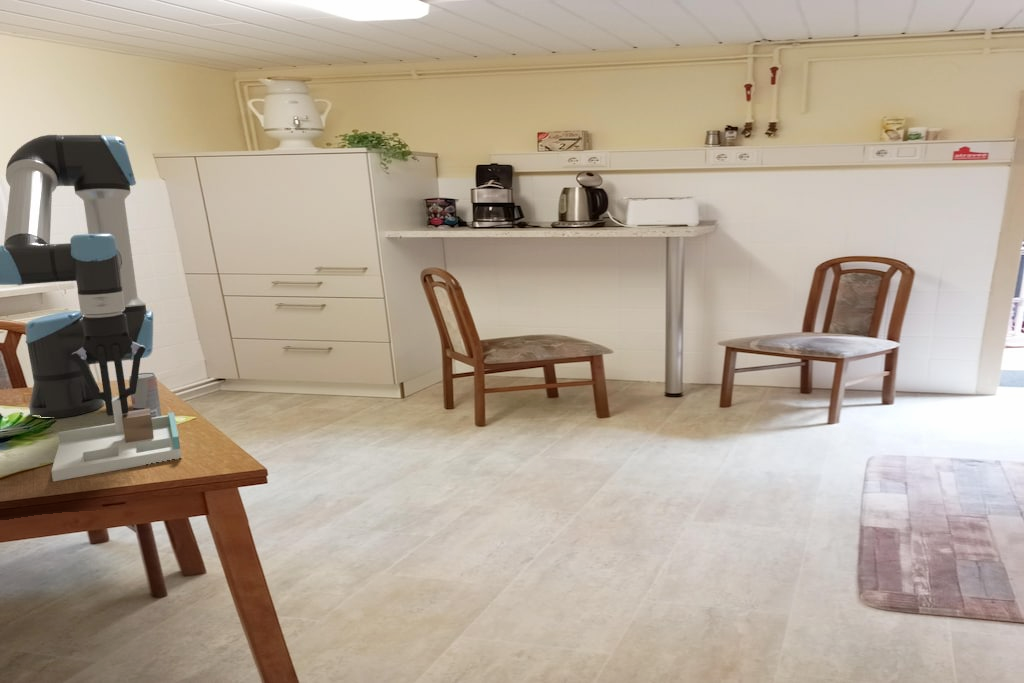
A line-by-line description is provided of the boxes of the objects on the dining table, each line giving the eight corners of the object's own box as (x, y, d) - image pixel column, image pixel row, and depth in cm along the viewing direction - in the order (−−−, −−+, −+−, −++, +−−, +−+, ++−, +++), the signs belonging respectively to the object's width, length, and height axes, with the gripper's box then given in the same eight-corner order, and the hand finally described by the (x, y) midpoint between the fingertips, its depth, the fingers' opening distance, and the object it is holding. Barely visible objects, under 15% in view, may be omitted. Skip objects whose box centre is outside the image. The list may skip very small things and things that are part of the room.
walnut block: (125, 435, 142) (122, 412, 141) (153, 431, 144) (150, 408, 143) (125, 442, 138) (122, 418, 137) (153, 438, 140) (150, 414, 139)
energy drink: (137, 426, 154) (130, 374, 152) (164, 423, 156) (157, 371, 153) (134, 433, 149) (126, 379, 147) (161, 430, 151) (154, 377, 148)
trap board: (61, 450, 140) (57, 429, 139) (176, 431, 150) (173, 411, 149) (53, 481, 124) (48, 458, 124) (181, 458, 134) (178, 436, 133)
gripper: (62, 320, 128) (81, 441, 133) (141, 313, 134) (157, 429, 139) (66, 314, 135) (84, 430, 140) (141, 308, 141) (156, 419, 146)
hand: (120, 429), depth 139 cm, fingers closed
